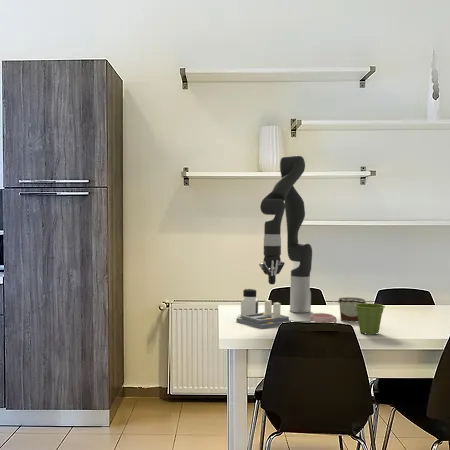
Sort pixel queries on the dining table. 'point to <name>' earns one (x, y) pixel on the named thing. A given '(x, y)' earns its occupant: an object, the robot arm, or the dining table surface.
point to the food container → (349, 308)
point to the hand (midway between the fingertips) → (271, 284)
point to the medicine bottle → (249, 302)
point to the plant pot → (369, 317)
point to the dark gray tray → (262, 320)
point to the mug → (323, 317)
